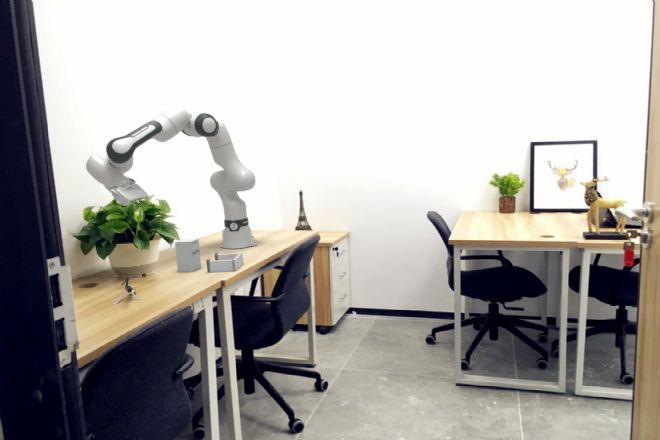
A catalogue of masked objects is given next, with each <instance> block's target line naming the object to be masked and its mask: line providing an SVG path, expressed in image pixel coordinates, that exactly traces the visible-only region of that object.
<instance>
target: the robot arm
mask: <svg viewBox="0 0 660 440" xmlns="http://www.w3.org/2000/svg"><path fill="white" fill-rule="evenodd" d="M180 132H182V133H183V134H184V135H186V137H187V136H188V137H194V138H202V137H203V138H205V139H206V140H207V143H208V146H209V150H210V153H211V155H212V158H213V162H214V163H215V164H216V165H217V166H219V167H220V168H222V169H220V170H218V171H215V172H213V173H212V174H211V176H210V177H209V182H210V183H209V184H210V186H211V188H212V189H213V191H215V192H216V193H217V194H218V195H219V198H220V199H221V203H222V206H223V207H222V208H223V214H224V219H223V224H224V228H223V230H222V233H221V234H222V244H220V245H219V247H220V248H225V249H243V248H249V247H253V246H254V247H255V246H257V245H258V241H257V238H254V235H253V233H252V229H251V227H250V226H249V218H248V216H247V215H248V214H247V213H248V212H247V205H246V202H245V201H244V199H242V198H241V197H240V196H239V194H238V192H246V191H250V190H252V189H254V187H255V185H256V175H255V173H254V172H253V171H252V170H250V169H248V168H247V167H246V166H245V165H244V164H243V163H242V162H241V160H240V159H239V156H238V155H237V152H236V150H235V147H234V145H233V141H232V138H231V135H230V133H229V131H228V128H227V127H226V125H225V123H223V122H222V121H219V120H217V119H216V118H215V117H214V116H213V115H211V114H210V113H206V112H192V113H190V112H189V111H188V110H187V108H185V107H183V106H182V105H175V106H172V107H170V108H168V109H166V110H165V111H162V112H161V113H160V114H158V115H157V116H156V117H155V118H153V119H151V120H150V121H148V122H146V123H144V124H142V125H140V126H139V127H137V128H136V129H134V130H132V131H131V132H129V133H127V134H125V135H123V136H119V137H115V138H112V139H111V140H110V141H108V143H107V144H106V147H105V151H106V152H105V153H99V154H98V153H94V154H92V155H91V156H90V157H89V158H88V160H86V161H87V162H86V164H85V170H86V171H87V173H88V174H89V175H90V176H91V177H92V178H93V179H94V180H95V181H97V182H98V183H99V184H101V185H102V186H104V188H105V189H106V190H107V191H108V192H109V193H111V196H112V197H113V198H114V199H115V200H116V201H117V202H118V203H119V204H121V206H124V207H126V206H130V202H131V201H133V200H136V202H137V203H140V202H139V200H142V199H143V198H145V197H147V198H148V197H149V194H148V193H147V192H146V190H144V189H143V188H142V187H141V186H140V185H139V184H137V181H136V180H135V179H134V178H130V177H127V176H126V175H124V174H125V173H127V172H128V171H130V170H131V169H132V167H133V165H134V153H135V152H136V149H138V148H139V147H140V146H141V147H142V145H143V144H145V143H147V142H149V141H150V140H153V139H154V140H155V141H157V142H159V143H160V142H161V143H165V142H169V141H170V140H171V139H173V138H174V137H175V136H177V135H178V134H179V133H180ZM138 199H139V200H138Z"/></svg>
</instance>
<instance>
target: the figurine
mask: <svg viewBox="0 0 660 440" xmlns="http://www.w3.org/2000/svg"><path fill="white" fill-rule="evenodd" d="M129 281H130V277H128V276H126V277H125V278H124V280H123V282H122V283H121V286H124V285H125V287H124V292H123V293H122V294H121V295H120V296H119V298H118V299H117V301H116V302H114V303H113V304H112V305H116V304H118V303H119V302H120V301H121V300H122V297H124V296H125V295H126V294H128V296H129V297H130V296H133V298H135V299H137V300H139V301H142V300H143V299H142V298H139V297H138V296H136V294H137V290H136V288H135V287H134V286H133V285H129Z"/></svg>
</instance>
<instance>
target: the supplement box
mask: <svg viewBox="0 0 660 440" xmlns="http://www.w3.org/2000/svg"><path fill="white" fill-rule="evenodd" d="M174 244H175V245H174V247H175V256H176V266H177V272H178V273H181V272H182V273H184V272H185V273H187V272H188V273H189V272H190V273H193V272H195V271H196V270H199V269H201V268H202V262H201V260H202V259H201V249H200V241H199V238H184V239H181V240H177V241H175V242H174Z"/></svg>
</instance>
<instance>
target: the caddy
mask: <svg viewBox="0 0 660 440" xmlns="http://www.w3.org/2000/svg"><path fill="white" fill-rule="evenodd" d="M213 255H214V260H211V259H210V258H208V259H206V260H205V261H206V271H207V273H222V272H226V273H227V272H237V271H238V270H239V269H240V268H241V267H242V266H243V265H244V255H243V252H239V253H237V252H236V253H220V254H219V252H214V254H213Z"/></svg>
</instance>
